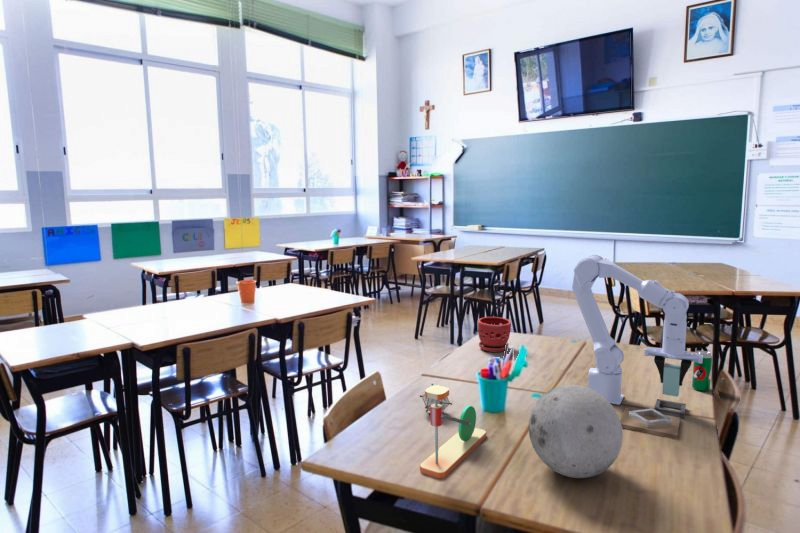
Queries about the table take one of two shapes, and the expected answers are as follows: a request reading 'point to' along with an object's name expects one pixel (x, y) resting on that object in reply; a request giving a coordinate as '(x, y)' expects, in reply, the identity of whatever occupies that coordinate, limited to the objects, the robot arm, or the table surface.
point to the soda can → (702, 372)
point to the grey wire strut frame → (429, 402)
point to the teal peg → (671, 379)
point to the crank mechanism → (455, 446)
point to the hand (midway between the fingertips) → (671, 383)
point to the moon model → (575, 431)
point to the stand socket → (672, 405)
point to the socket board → (654, 430)
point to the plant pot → (493, 333)
